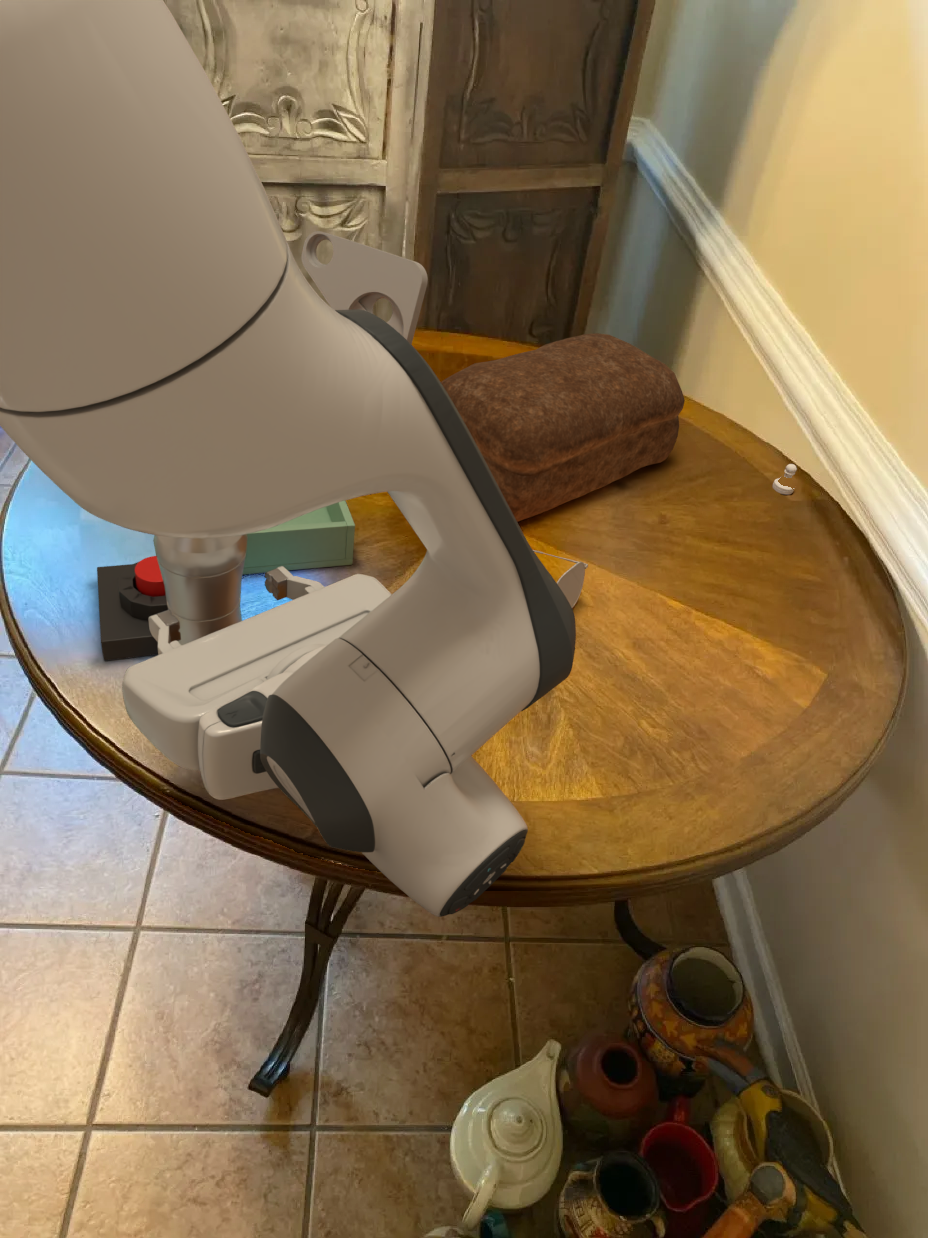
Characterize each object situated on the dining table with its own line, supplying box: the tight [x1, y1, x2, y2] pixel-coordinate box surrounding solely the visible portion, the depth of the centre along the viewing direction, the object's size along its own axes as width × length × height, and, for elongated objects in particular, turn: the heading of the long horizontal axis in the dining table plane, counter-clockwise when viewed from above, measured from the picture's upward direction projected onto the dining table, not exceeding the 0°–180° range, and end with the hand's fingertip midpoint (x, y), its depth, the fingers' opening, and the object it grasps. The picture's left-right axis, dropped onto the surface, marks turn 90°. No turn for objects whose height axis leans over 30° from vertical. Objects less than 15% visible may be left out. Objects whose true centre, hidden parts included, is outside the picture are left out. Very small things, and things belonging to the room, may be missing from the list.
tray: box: [242, 500, 356, 576], centre depth 91 cm, size 13×13×5 cm
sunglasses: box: [532, 549, 589, 609], centre depth 87 cm, size 14×8×5 cm, turn 141°
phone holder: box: [301, 230, 429, 346], centre depth 109 cm, size 17×10×18 cm, turn 62°
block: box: [96, 560, 168, 662], centre depth 80 cm, size 10×10×4 cm
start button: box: [135, 555, 166, 597], centre depth 78 cm, size 4×4×2 cm
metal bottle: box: [152, 534, 248, 645], centre depth 69 cm, size 6×7×20 cm
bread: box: [440, 332, 686, 523], centre depth 106 cm, size 17×30×13 cm, turn 131°
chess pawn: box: [771, 463, 798, 495], centre depth 112 cm, size 3×3×4 cm
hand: (217, 597), depth 67 cm, fingers open, 8 cm apart
